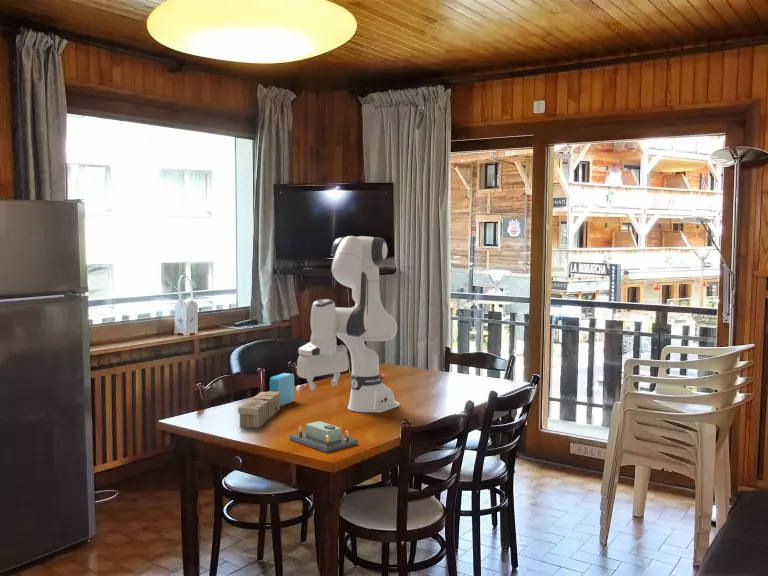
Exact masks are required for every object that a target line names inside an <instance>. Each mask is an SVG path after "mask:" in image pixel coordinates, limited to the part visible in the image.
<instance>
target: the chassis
mask: <svg viewBox="0 0 768 576" xmlns="http://www.w3.org/2000/svg"><path fill="white" fill-rule="evenodd" d="M344 432H345V433H344V434H341V440H337V441H333V442H330V436H329V435H327V436H326V442H323V441H320V440H318V439H315V438H312V437H309V436H306V431H303V426H300V425H299V426H298V433H294V434H290V435H289V441H293V442H295V443H298V444H301V445H304V446H306V447H310V448H311V449H315V450H318V451H320V452H323V453H329V452H334V451H337V450H341V449H344V448H349V447H352V446H356V445H358V444H359V439H356V438H353V437H351V436H349V435H350V432H349V430H345V431H344Z"/></svg>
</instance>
